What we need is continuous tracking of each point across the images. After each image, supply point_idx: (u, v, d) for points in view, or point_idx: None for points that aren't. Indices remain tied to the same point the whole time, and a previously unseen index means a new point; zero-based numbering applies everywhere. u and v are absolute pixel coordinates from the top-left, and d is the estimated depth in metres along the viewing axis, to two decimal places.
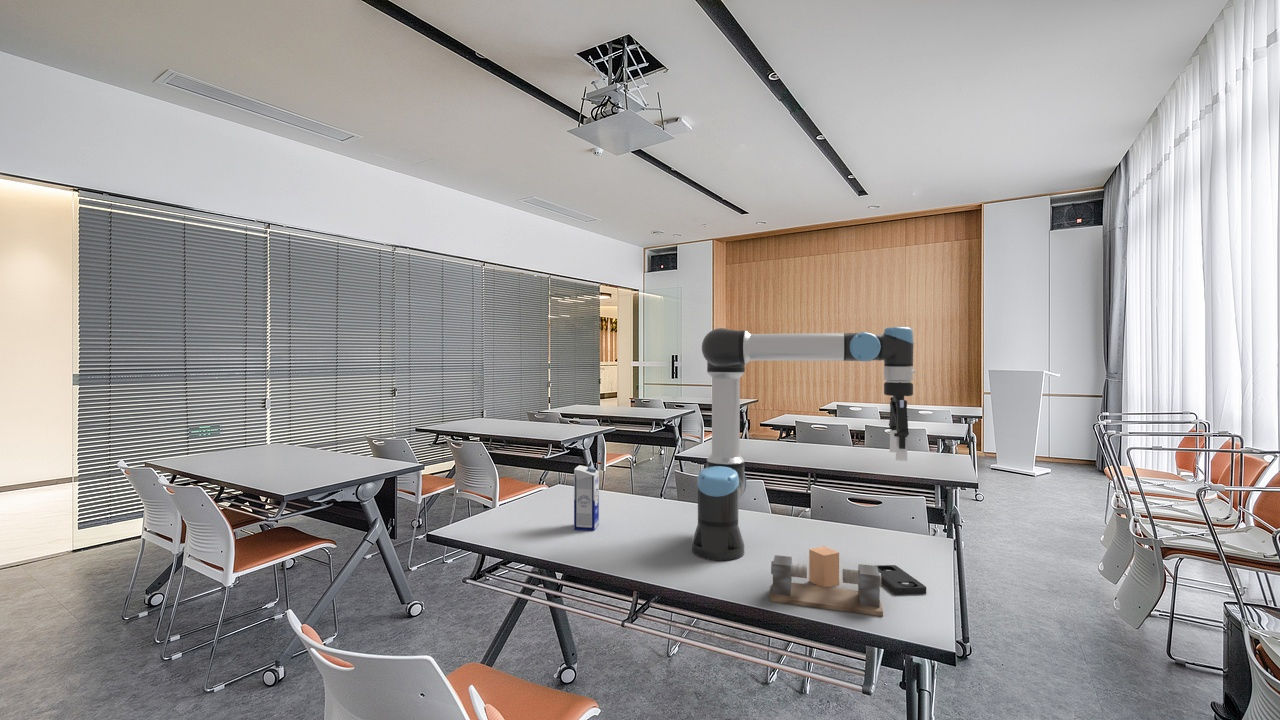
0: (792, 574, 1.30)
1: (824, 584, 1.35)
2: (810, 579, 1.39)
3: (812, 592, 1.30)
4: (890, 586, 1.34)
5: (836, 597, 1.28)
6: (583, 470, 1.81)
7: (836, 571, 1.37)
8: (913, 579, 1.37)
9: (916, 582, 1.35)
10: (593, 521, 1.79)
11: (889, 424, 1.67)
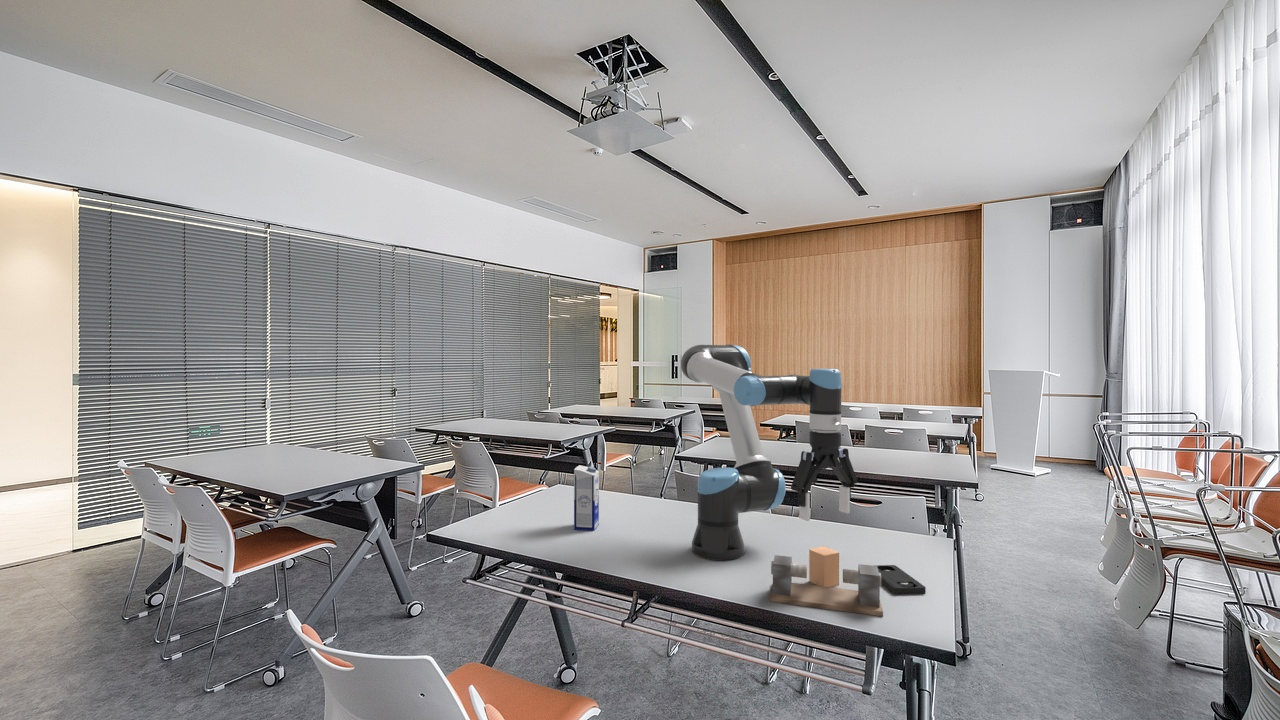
0: (792, 574, 1.30)
1: (824, 584, 1.35)
2: (810, 579, 1.39)
3: (812, 592, 1.30)
4: (889, 586, 1.34)
5: (836, 597, 1.28)
6: (583, 470, 1.81)
7: (836, 571, 1.37)
8: (912, 579, 1.37)
9: (915, 582, 1.35)
10: (593, 521, 1.79)
11: None
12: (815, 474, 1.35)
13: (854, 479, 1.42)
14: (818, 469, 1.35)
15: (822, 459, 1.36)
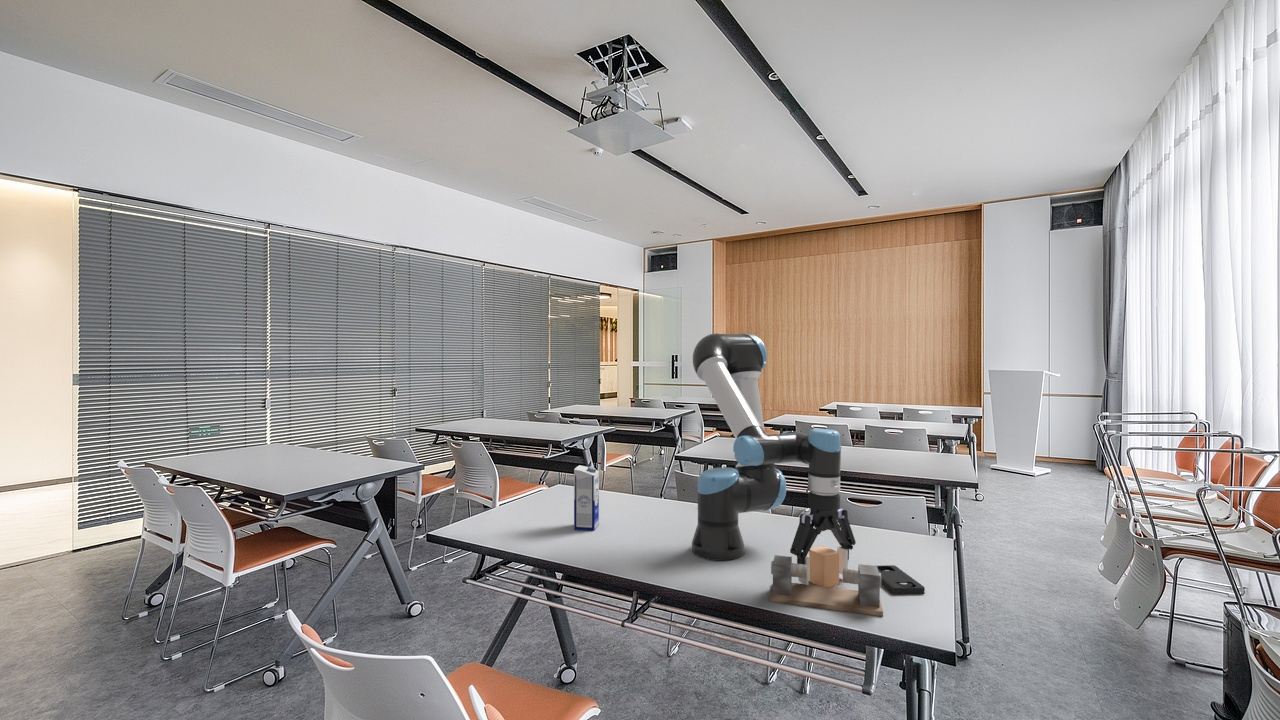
0: (792, 574, 1.30)
1: (824, 584, 1.35)
2: (810, 579, 1.39)
3: (812, 592, 1.30)
4: (888, 586, 1.34)
5: (836, 597, 1.28)
6: (583, 470, 1.81)
7: (836, 571, 1.37)
8: (912, 579, 1.37)
9: (914, 582, 1.35)
10: (593, 521, 1.79)
11: None
12: (814, 537, 1.35)
13: (852, 541, 1.41)
14: (817, 532, 1.35)
15: (821, 522, 1.36)
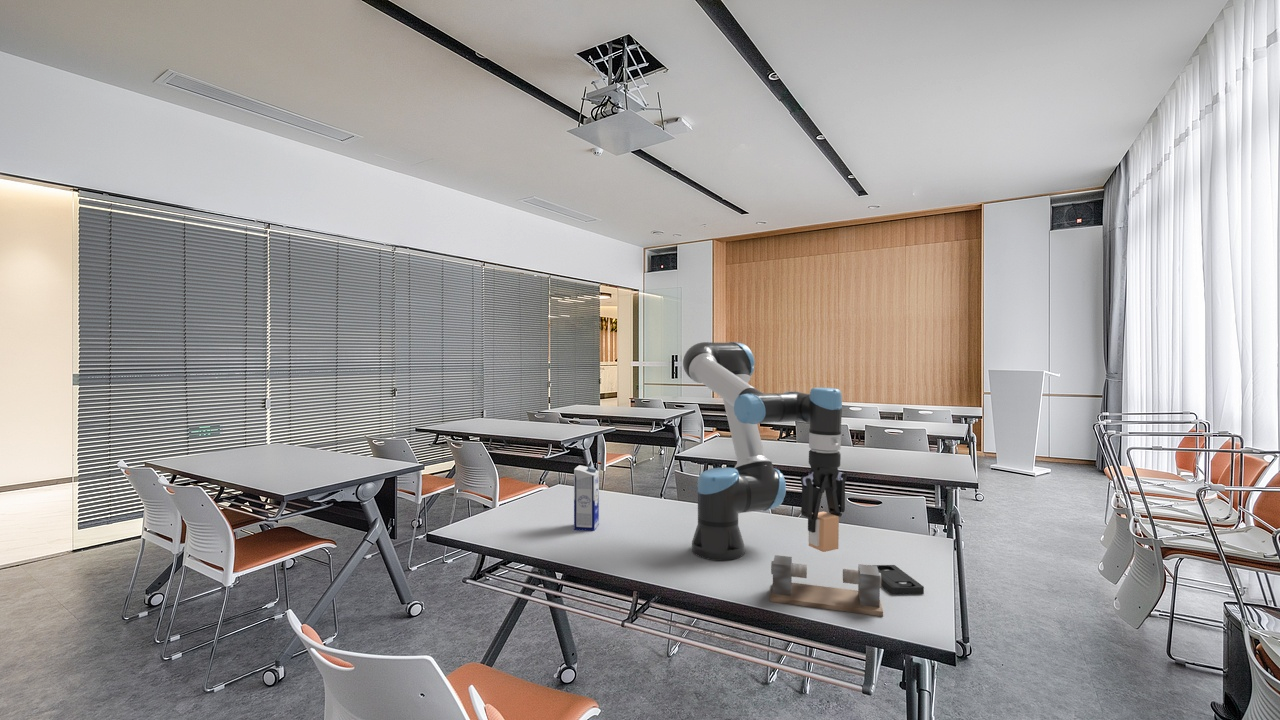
0: (792, 574, 1.30)
1: (824, 548, 1.35)
2: (809, 543, 1.39)
3: (812, 592, 1.30)
4: (887, 586, 1.34)
5: (836, 597, 1.28)
6: (583, 470, 1.81)
7: (835, 535, 1.37)
8: (911, 579, 1.37)
9: (914, 582, 1.35)
10: (593, 521, 1.79)
11: None
12: (819, 497, 1.36)
13: (842, 507, 1.40)
14: (821, 492, 1.36)
15: (822, 481, 1.36)
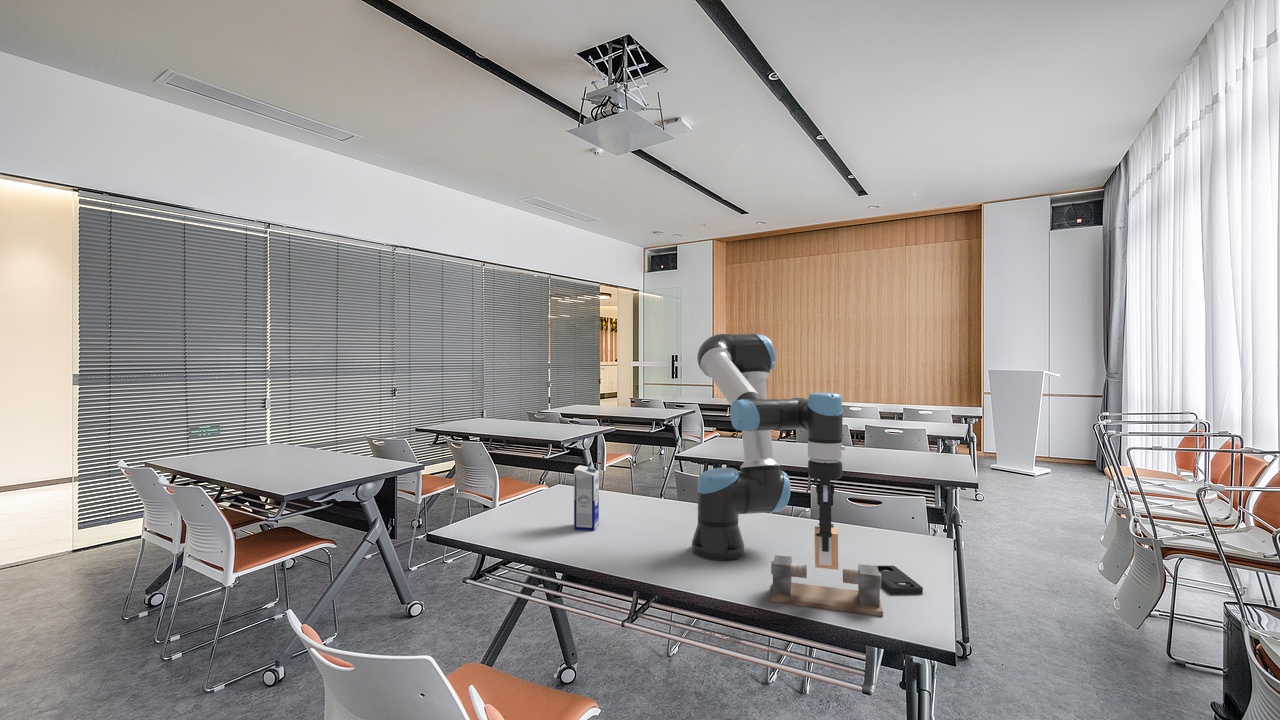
0: (792, 574, 1.30)
1: None
2: (817, 565, 1.27)
3: (812, 592, 1.30)
4: (886, 586, 1.34)
5: (836, 597, 1.28)
6: (583, 470, 1.81)
7: None
8: (910, 579, 1.37)
9: (913, 583, 1.35)
10: (593, 521, 1.79)
11: (819, 518, 1.34)
12: None
13: None
14: None
15: (831, 493, 1.26)
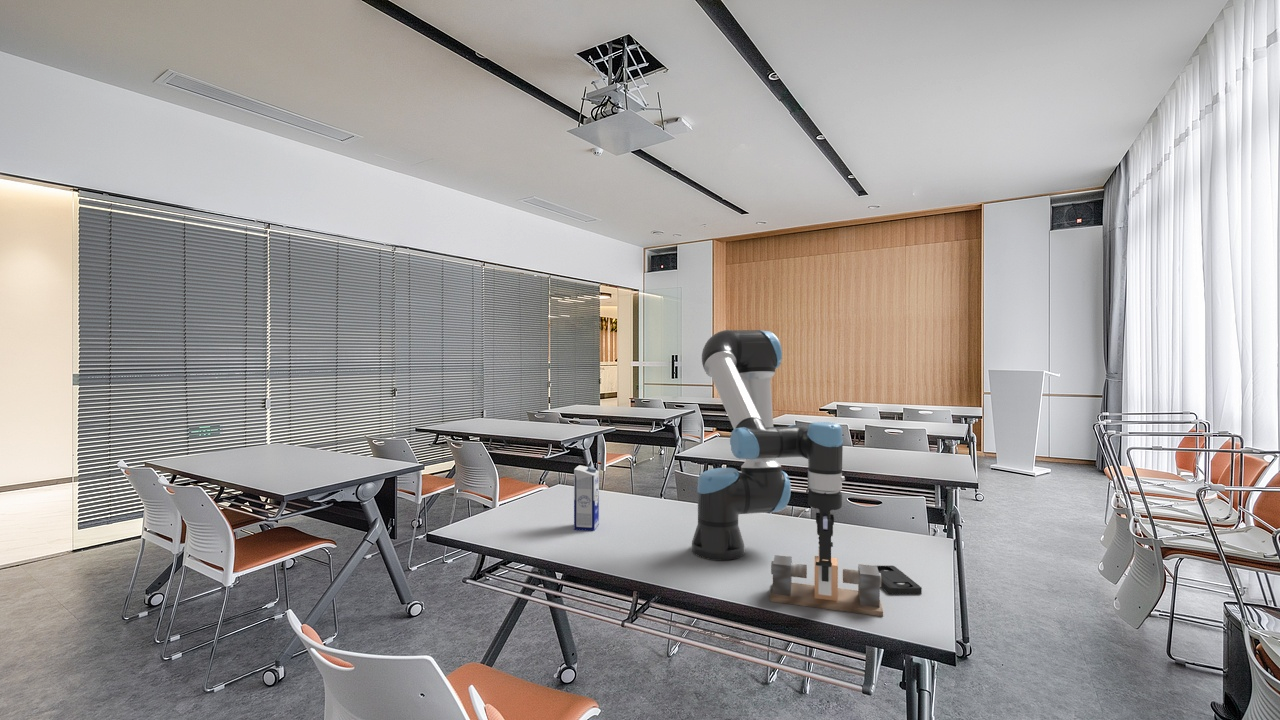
0: (792, 574, 1.30)
1: (837, 597, 1.26)
2: (816, 595, 1.27)
3: (812, 592, 1.30)
4: (885, 586, 1.34)
5: None
6: (583, 470, 1.81)
7: None
8: (909, 579, 1.37)
9: (912, 583, 1.35)
10: (593, 521, 1.79)
11: (819, 537, 1.37)
12: None
13: None
14: (831, 535, 1.25)
15: None
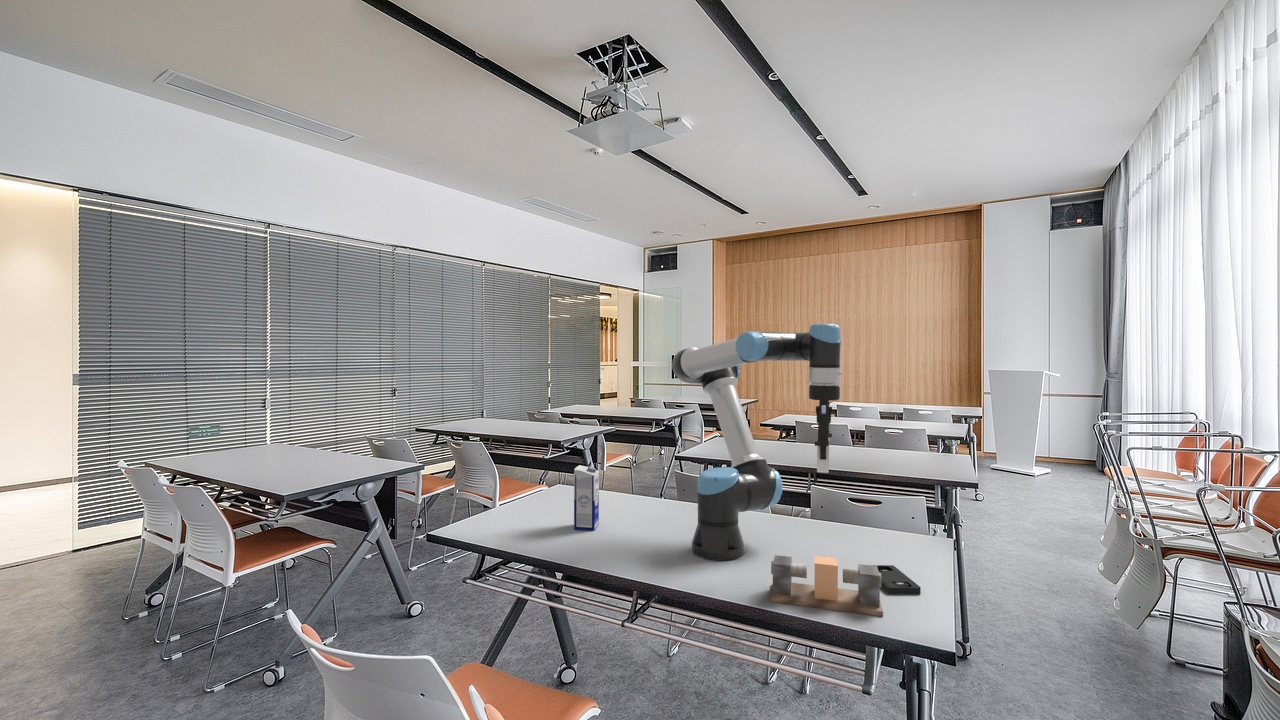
0: (792, 574, 1.30)
1: (837, 597, 1.26)
2: (816, 595, 1.27)
3: (812, 592, 1.30)
4: (884, 586, 1.34)
5: None
6: (583, 470, 1.81)
7: None
8: (908, 579, 1.37)
9: (911, 582, 1.35)
10: (593, 521, 1.79)
11: None
12: None
13: (828, 430, 1.51)
14: (829, 421, 1.39)
15: (829, 411, 1.40)
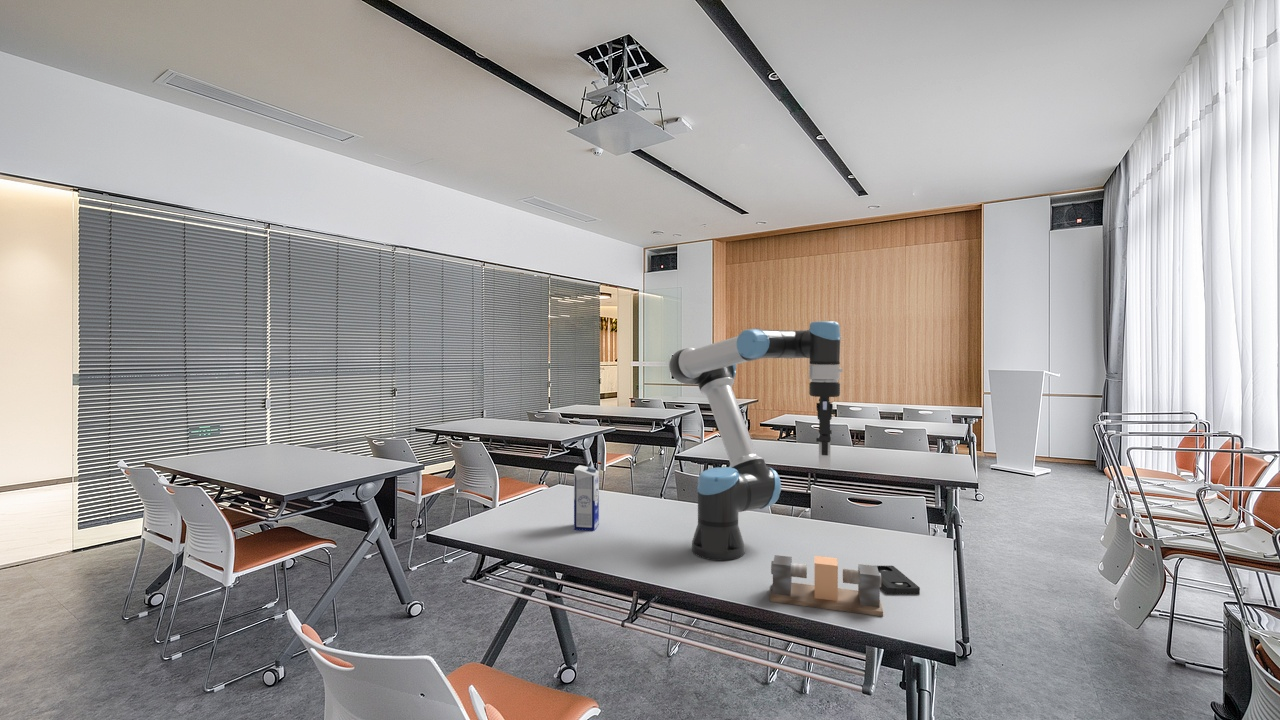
0: (792, 574, 1.30)
1: (837, 597, 1.26)
2: (816, 595, 1.27)
3: (812, 592, 1.30)
4: (883, 586, 1.34)
5: None
6: (583, 470, 1.81)
7: None
8: (908, 579, 1.37)
9: (910, 583, 1.35)
10: (593, 521, 1.79)
11: None
12: None
13: None
14: (830, 417, 1.40)
15: (830, 408, 1.41)
